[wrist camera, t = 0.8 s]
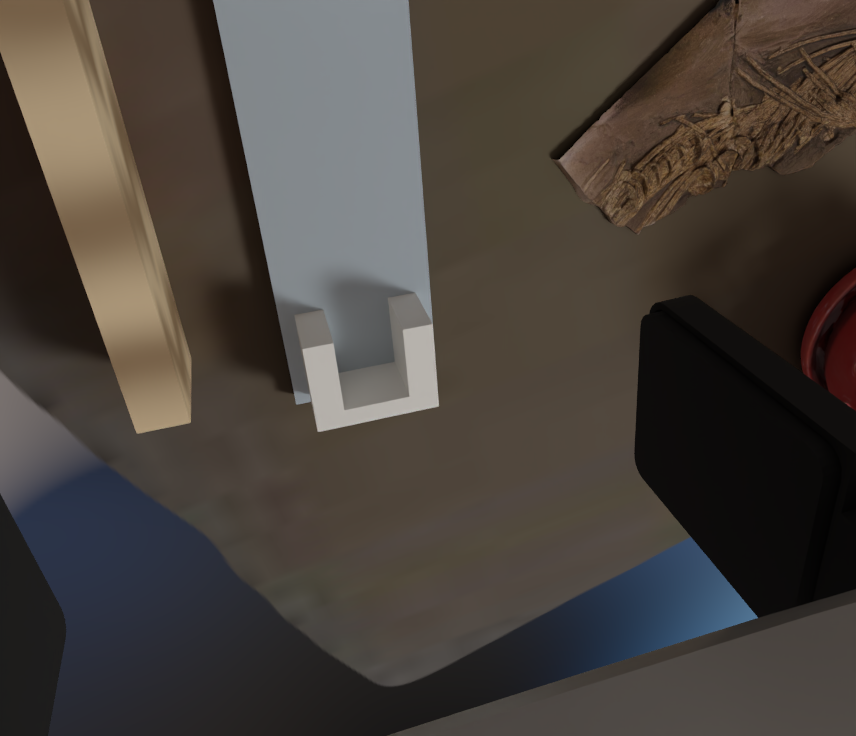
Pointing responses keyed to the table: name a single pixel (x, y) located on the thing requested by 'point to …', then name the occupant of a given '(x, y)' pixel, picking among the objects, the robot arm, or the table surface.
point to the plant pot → (833, 341)
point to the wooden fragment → (723, 108)
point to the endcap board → (338, 197)
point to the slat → (99, 200)
